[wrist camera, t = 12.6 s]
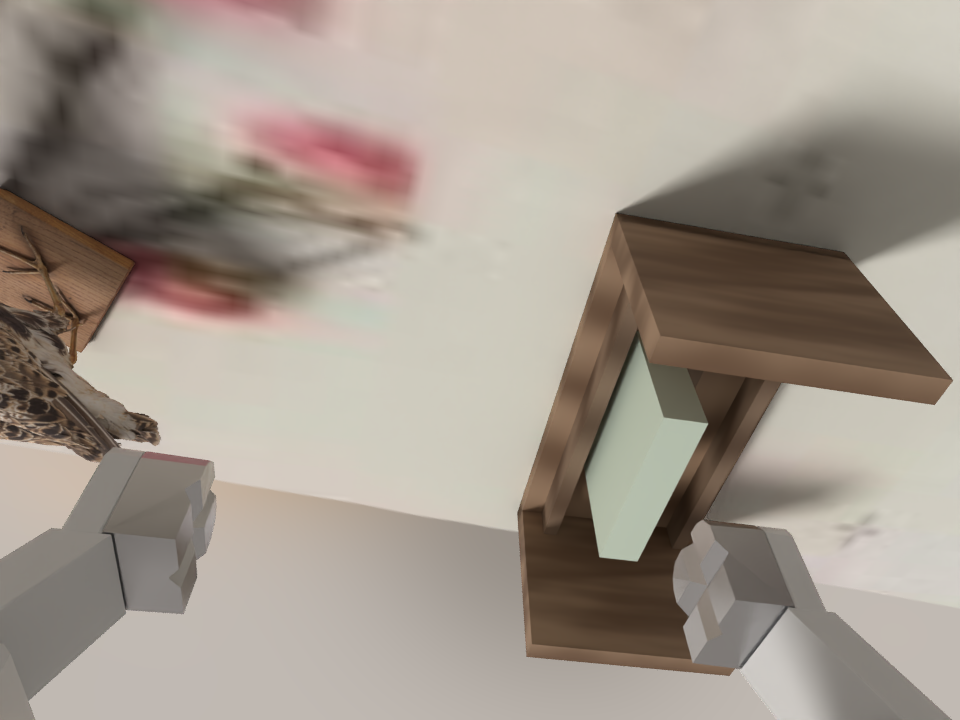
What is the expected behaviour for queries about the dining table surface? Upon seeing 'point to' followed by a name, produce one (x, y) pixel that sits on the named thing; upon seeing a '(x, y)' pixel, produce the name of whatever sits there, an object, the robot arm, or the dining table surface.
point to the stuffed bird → (56, 334)
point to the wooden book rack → (724, 399)
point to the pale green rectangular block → (640, 451)
